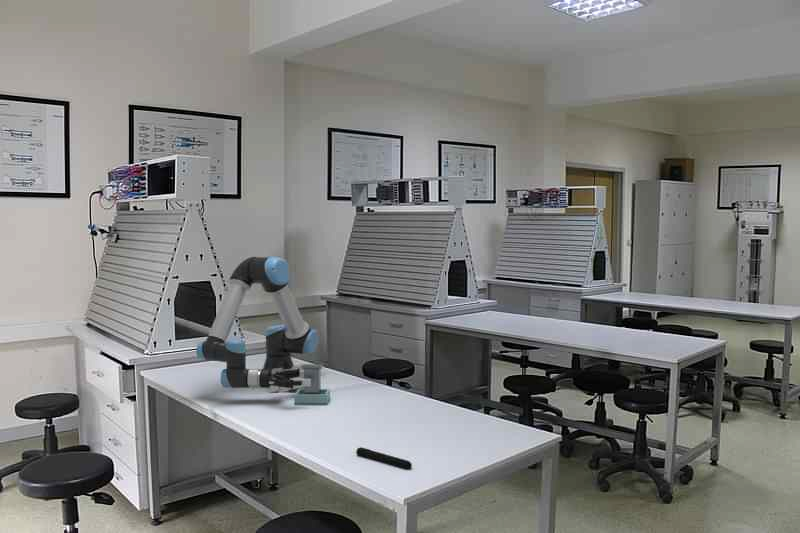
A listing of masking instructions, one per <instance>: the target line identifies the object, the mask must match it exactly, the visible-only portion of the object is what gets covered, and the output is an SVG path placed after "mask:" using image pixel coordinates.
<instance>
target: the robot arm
mask: <svg viewBox="0 0 800 533" xmlns="http://www.w3.org/2000/svg"><path fill="white" fill-rule="evenodd" d="M290 278H291V268H290V265H289V263H288V262H287V261H286V259H284V258H282V257H276V256H273V257H272V256H270V257H267V256H250V257H248V258H245V259H243V261H241V262H240V263H239V264H238V265H237V266H236V267H235V269H234V270H233V271H232V273H231V275H230V277H229V280H228V284H229V286H228V288H227V290H226V292H225V295H224V298H223V300H222V302H221V304H220V307H219V309H218V310H217V311H218V312H217V314H216V316H215V318H214V321H213V323H212V326H211V328H210V330H209V333H208V335H207V338H206V339H205V340H202V341H200V342H199V343H198V344H197V346H196V349H195V352H196V356H197V357H198V358H199V359H200V360H205V361H213V362H221V363H226V368H224V369H222V371H221V373H220V384H221V386H222V388H226V389H228V388H231V389H239V388H240V389H242V388H243V389H244V388H245V389H249V388H250V389H252V390H255V389H256V388H257V389H258V388H259V389H260V388H261V389H267V388H269V387H270V386H279V387H286V388H291V389H290V390H294V389H293V385H294V386H303V387H304V386H311V379H294V381H293V380H291V379H290V378H295V377H300V378H304V371H300V369H297V370H288V371H276V373H275V374H272V373H271V371H272V369H275V368H283V369H290V368H292V366H295V364H294V362H293V360H292V354H296V355H304V356H305V355H312V354H314V352H316V350H317V348H318V346H319V341H320V339H319V338H320V335H319V332H318V330H316V329H311V327H310V325H309V323H308V322H306V321H304V320H303V317H302V315H301V313H300V310H299V308H298V305H297V303H296V301H295V299H294V297H293V295H292V292H291V290H290V287H289V283H290ZM254 284H258V285H259V284H260V285H261V286H262V288H263V291H264V292H266V293H267V294H269V295H270V298H271V300H272V302H273V304H274V306H275V308H276V310H277V312H278V314H279V316H280V320H282V323H283V324H277V325H271V326H268V327H266V329H265V356H266V357H265V361H264V364H263V368H262V369H261V368H246V367H247V366H246V365H247V364H246V363H247V361H246V360H247V358H246V353H247V349H246V342H245V340H244V339H241V338H231V339H228V337H229V333H230V332H231V329H232V327H233V324H234V322H235V319H236V317H237V315H238V312H239V310H240V307H241V305H242V303H243V300H244V298H245V296H246V293H247V292H248V291H250V290H251V287H252V285H254Z"/></svg>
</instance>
